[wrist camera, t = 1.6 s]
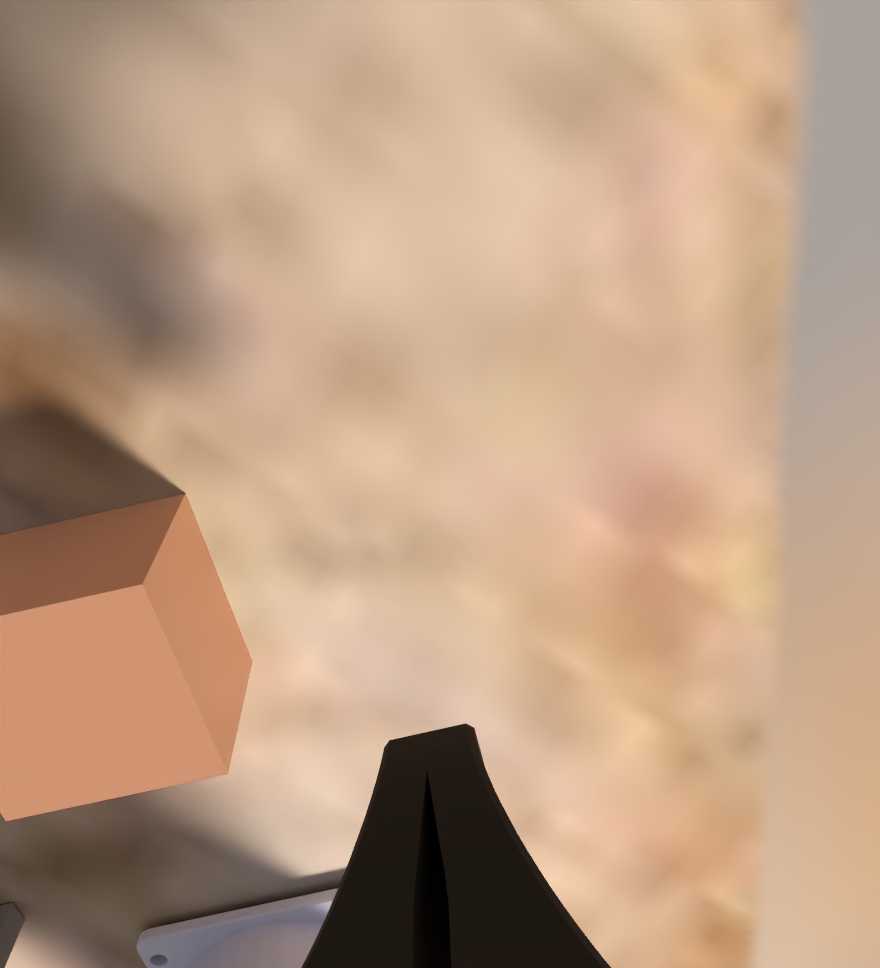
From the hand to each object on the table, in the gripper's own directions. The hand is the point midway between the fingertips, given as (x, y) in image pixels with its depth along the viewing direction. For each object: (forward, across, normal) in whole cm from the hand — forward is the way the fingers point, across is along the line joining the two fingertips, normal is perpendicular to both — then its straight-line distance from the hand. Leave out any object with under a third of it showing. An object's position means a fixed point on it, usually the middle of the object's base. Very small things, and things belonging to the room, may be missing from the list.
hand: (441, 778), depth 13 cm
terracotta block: (+8, +8, 0) cm, 11 cm away
